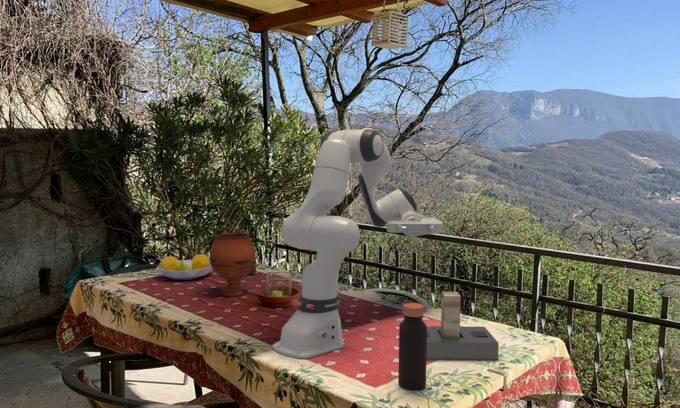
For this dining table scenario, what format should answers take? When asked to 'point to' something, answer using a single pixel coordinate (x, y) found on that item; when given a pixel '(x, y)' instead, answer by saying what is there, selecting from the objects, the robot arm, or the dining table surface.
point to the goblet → (232, 259)
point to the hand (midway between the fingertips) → (417, 229)
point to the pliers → (341, 298)
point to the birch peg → (450, 315)
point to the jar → (252, 271)
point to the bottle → (412, 348)
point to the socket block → (461, 345)
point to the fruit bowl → (185, 267)
